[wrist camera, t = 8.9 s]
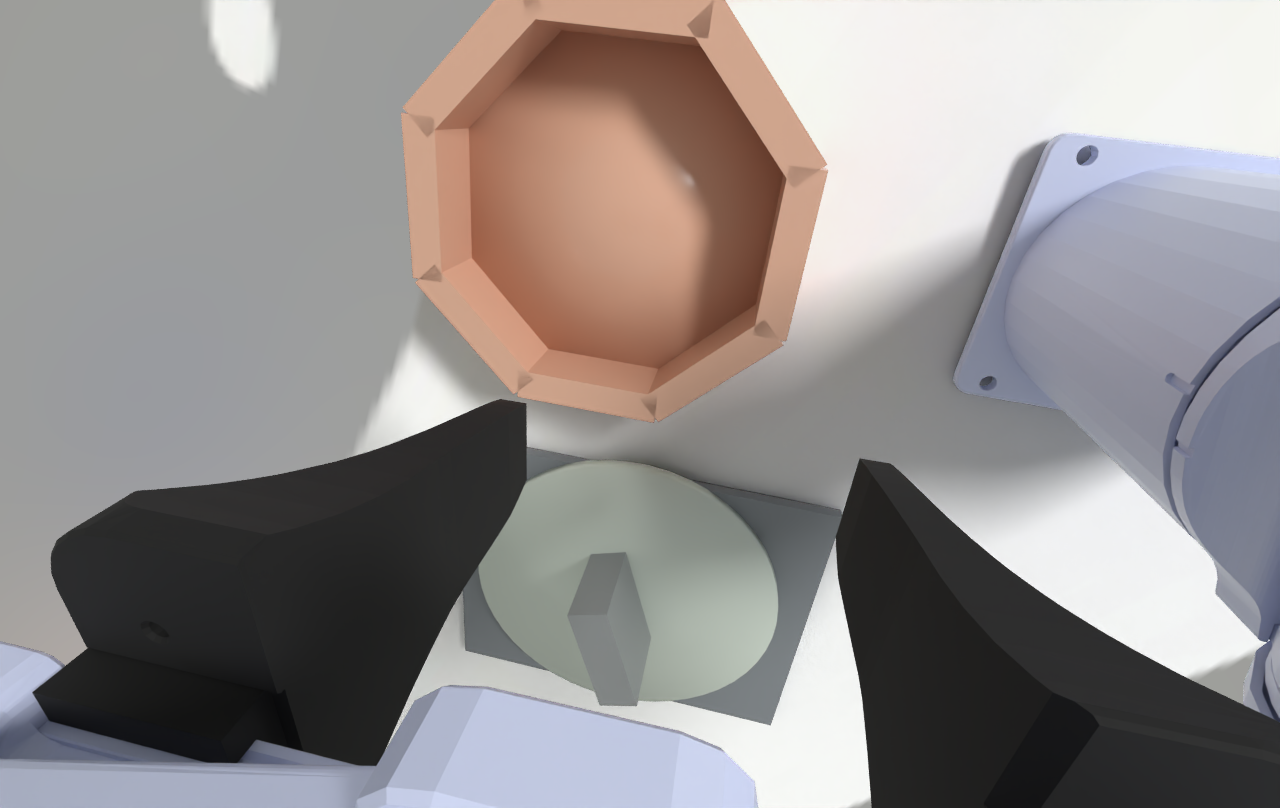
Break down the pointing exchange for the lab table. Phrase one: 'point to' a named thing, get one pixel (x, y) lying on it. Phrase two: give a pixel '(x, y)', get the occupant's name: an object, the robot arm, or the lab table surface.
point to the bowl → (610, 200)
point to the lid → (631, 582)
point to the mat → (798, 560)
